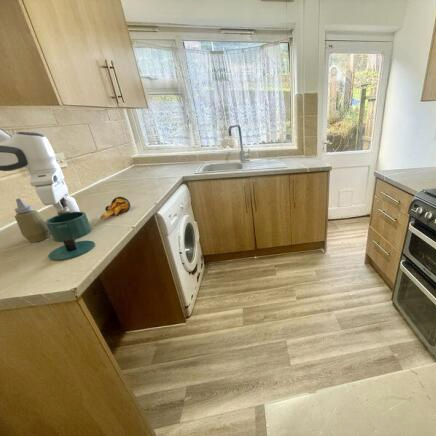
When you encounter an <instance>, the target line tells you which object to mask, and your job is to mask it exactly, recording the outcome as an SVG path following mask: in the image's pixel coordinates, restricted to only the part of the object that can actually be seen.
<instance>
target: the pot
mask: <svg viewBox="0 0 436 436" xmlns="http://www.w3.org/2000/svg"><path fill="white" fill-rule="evenodd" d="M45 223H46V224H47V226H48V228H49V234H50V235H51V237H52V239H53V240H54V242H57V243H63V241H62V240H63V239H64V238H67V237H73V238H74V240H77V238H78V239H81V238H83V237H85V236H87V235H88V234H90V233H91V232H92V227H91V223H90V221H89V219H88V217H87V214H86V213H85V212H84V211H80V212H70V213H67V214H62V215H58V214H56V215H55V216H52V217H50V218H48V219H47V220H46V221H45Z"/></svg>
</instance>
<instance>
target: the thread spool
mask: <svg viewBox="0 0 436 436" xmlns="http://www.w3.org/2000/svg"><path fill="white" fill-rule="evenodd" d="M66 201H67V200H66V199H61V200H60V204H61V205H62V206H63V208H64V210H63V211H58V213H57V212H56V215H62V214H67V213H70V212H71V210H69V208H68V206H67V203H66Z"/></svg>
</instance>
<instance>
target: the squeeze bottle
mask: <svg viewBox="0 0 436 436" xmlns="http://www.w3.org/2000/svg"><path fill="white" fill-rule="evenodd" d="M15 201H16V202H15V203H16V207H15V208H14V212H15V213H16V214H15V215H14V218H15V221H16V223H17V225H18V226H17V227H18V228H19V230H20V233H21V235H22V236H23V237H24V238H25V239H26V240H28V241H29V242H30V243H37V242H41V241H45V240H46V239H48V238H49V237H50V231H49V228H48V226H47V224H46V221H45V220H44V219H43V217H42V216H41V214H40V213H39V211H37V210H35V209H33V207H32V205H27V204H26V203H25V202H24V201H23V200H22V199H21V198H16V199H15Z"/></svg>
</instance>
